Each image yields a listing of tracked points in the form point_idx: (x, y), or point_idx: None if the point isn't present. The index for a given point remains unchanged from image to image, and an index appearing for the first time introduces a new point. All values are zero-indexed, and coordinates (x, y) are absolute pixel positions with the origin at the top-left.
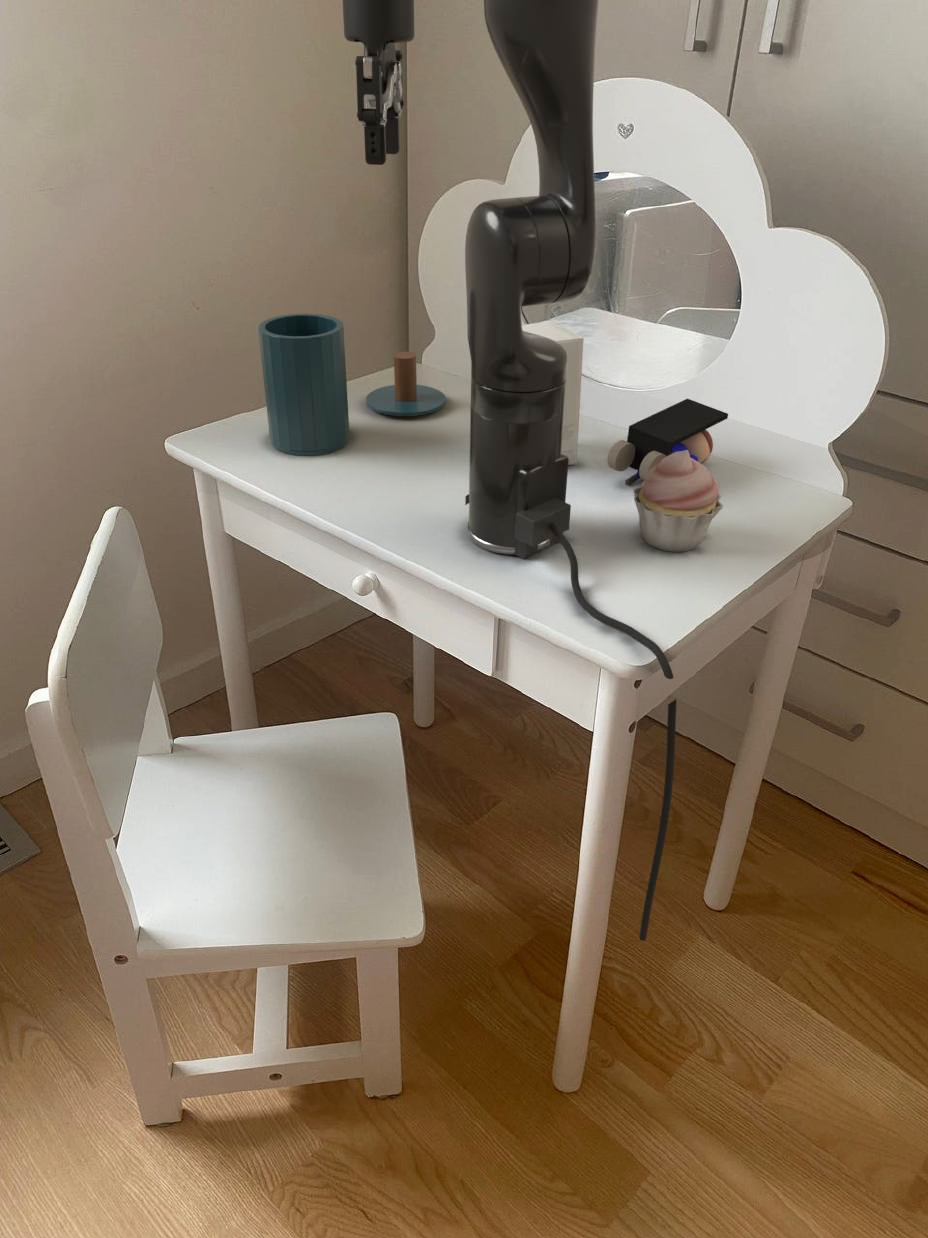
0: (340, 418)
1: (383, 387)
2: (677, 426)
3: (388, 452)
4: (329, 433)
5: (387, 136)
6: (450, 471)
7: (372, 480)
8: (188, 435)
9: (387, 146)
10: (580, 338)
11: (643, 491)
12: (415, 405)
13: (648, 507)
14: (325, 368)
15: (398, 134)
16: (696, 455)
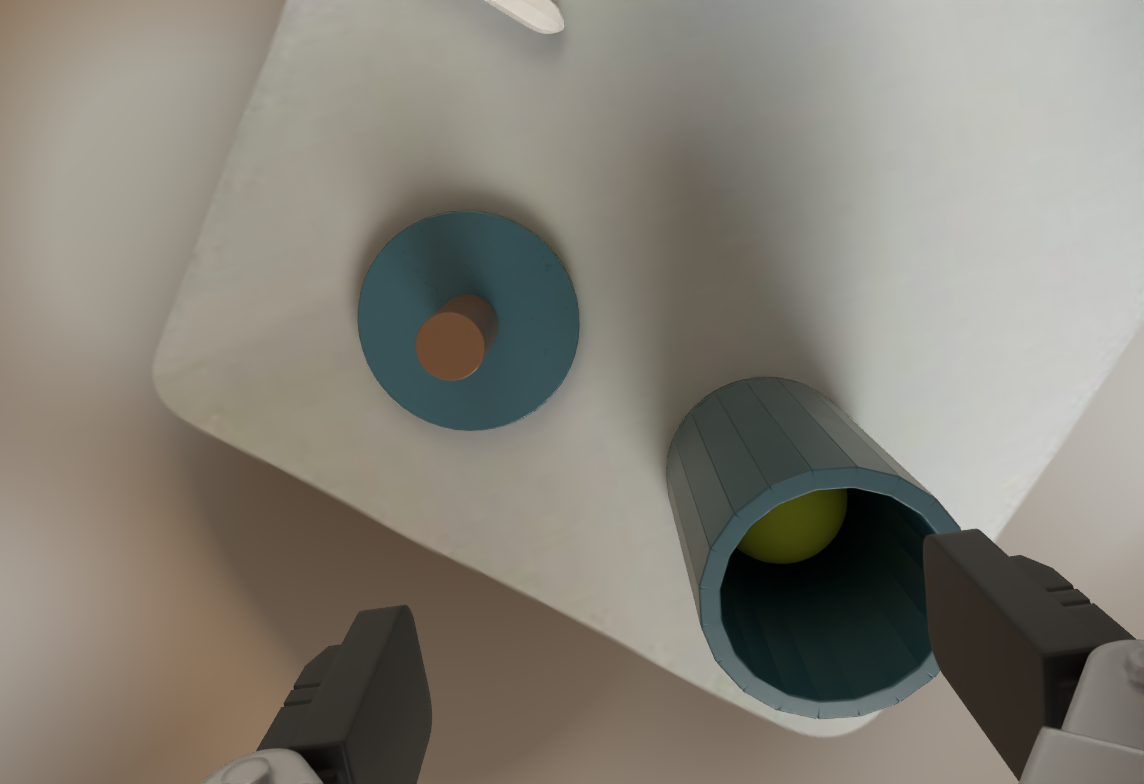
0: (809, 398)
1: (412, 408)
2: None
3: (786, 262)
4: (838, 408)
5: (402, 737)
6: (864, 71)
7: (955, 244)
8: (804, 731)
9: (415, 696)
10: None
11: None
12: (514, 281)
13: None
14: (891, 459)
15: (367, 665)
16: None
